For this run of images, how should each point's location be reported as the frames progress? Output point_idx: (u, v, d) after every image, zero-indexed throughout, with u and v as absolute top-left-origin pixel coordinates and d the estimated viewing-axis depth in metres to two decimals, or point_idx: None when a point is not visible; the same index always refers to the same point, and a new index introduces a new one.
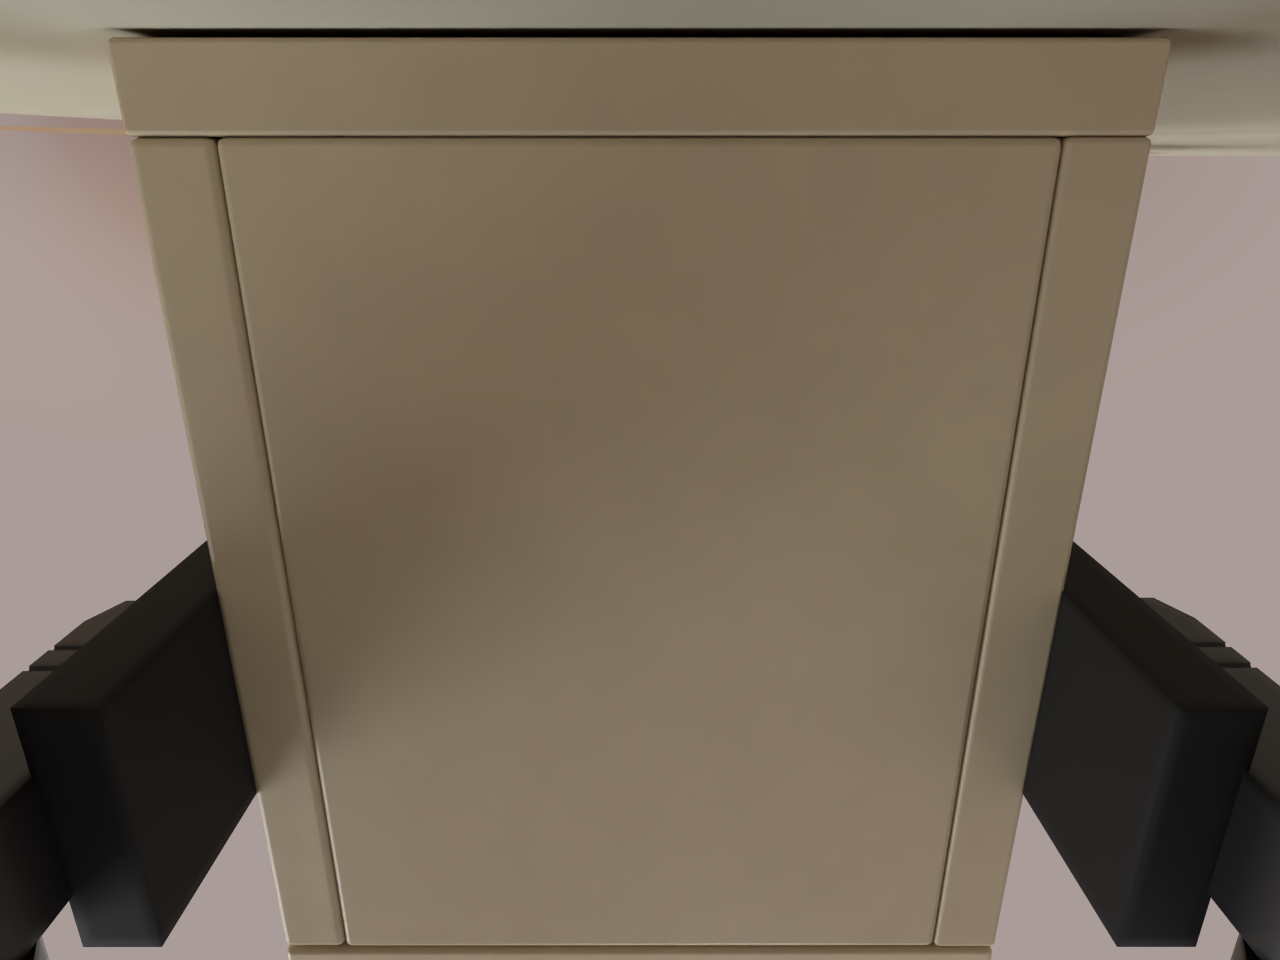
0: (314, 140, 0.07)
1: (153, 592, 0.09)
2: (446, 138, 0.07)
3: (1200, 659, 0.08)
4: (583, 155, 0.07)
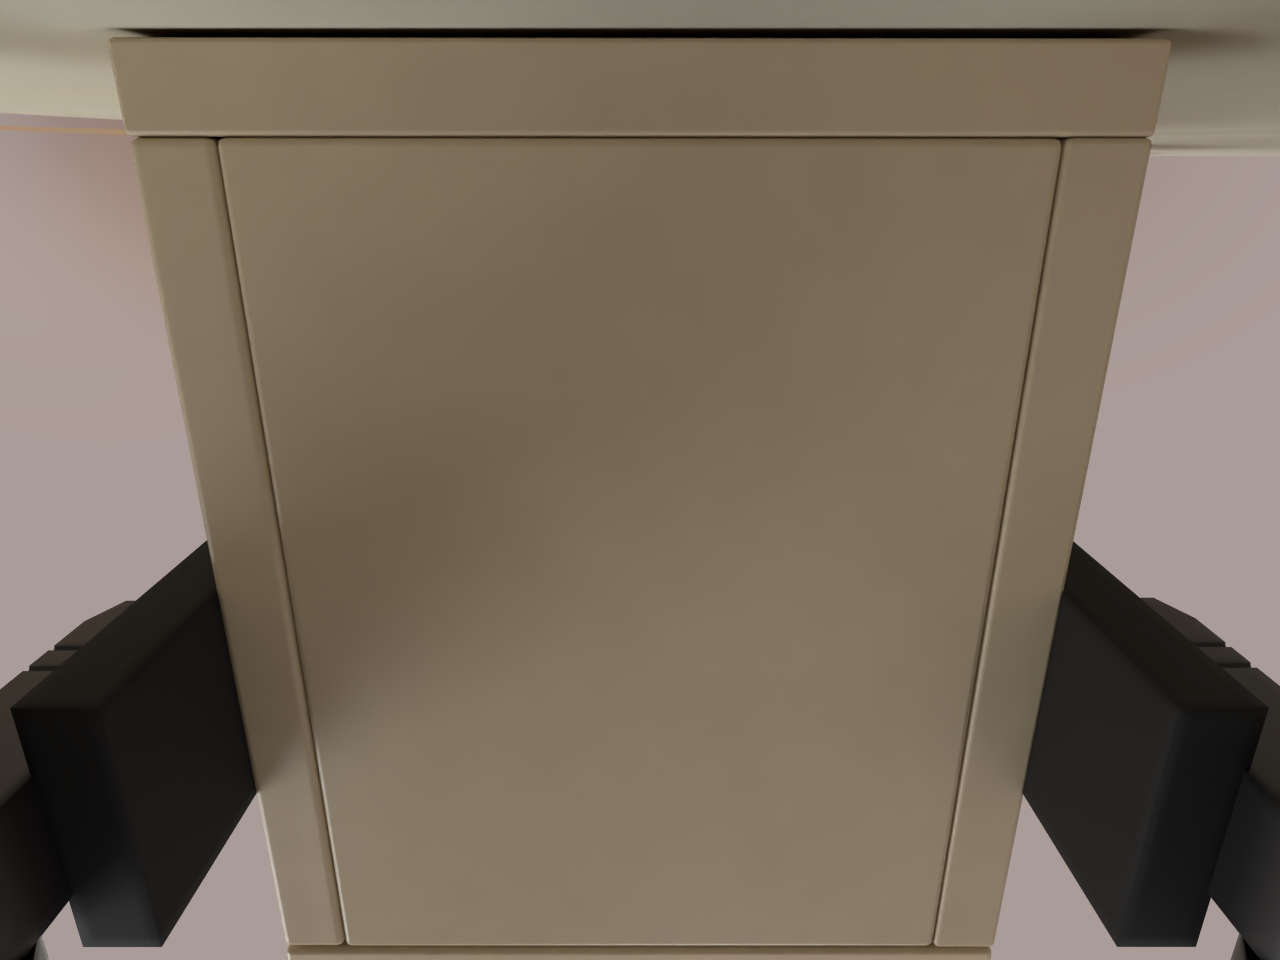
0: (315, 140, 0.07)
1: (153, 592, 0.09)
2: (447, 138, 0.07)
3: (1200, 659, 0.08)
4: (584, 155, 0.07)
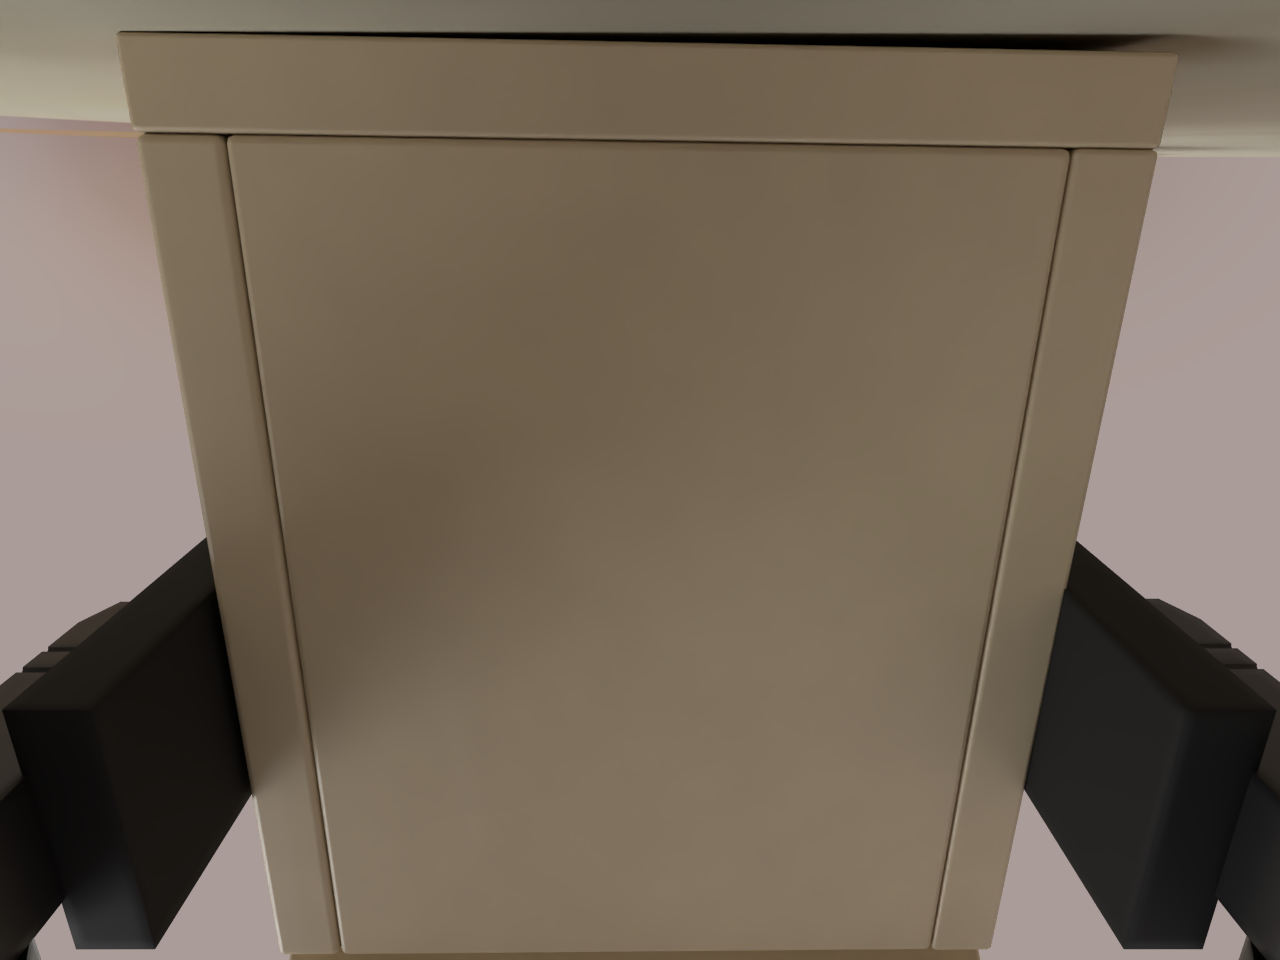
0: (326, 139, 0.07)
1: (146, 593, 0.09)
2: (460, 139, 0.07)
3: (1207, 660, 0.08)
4: (597, 158, 0.07)
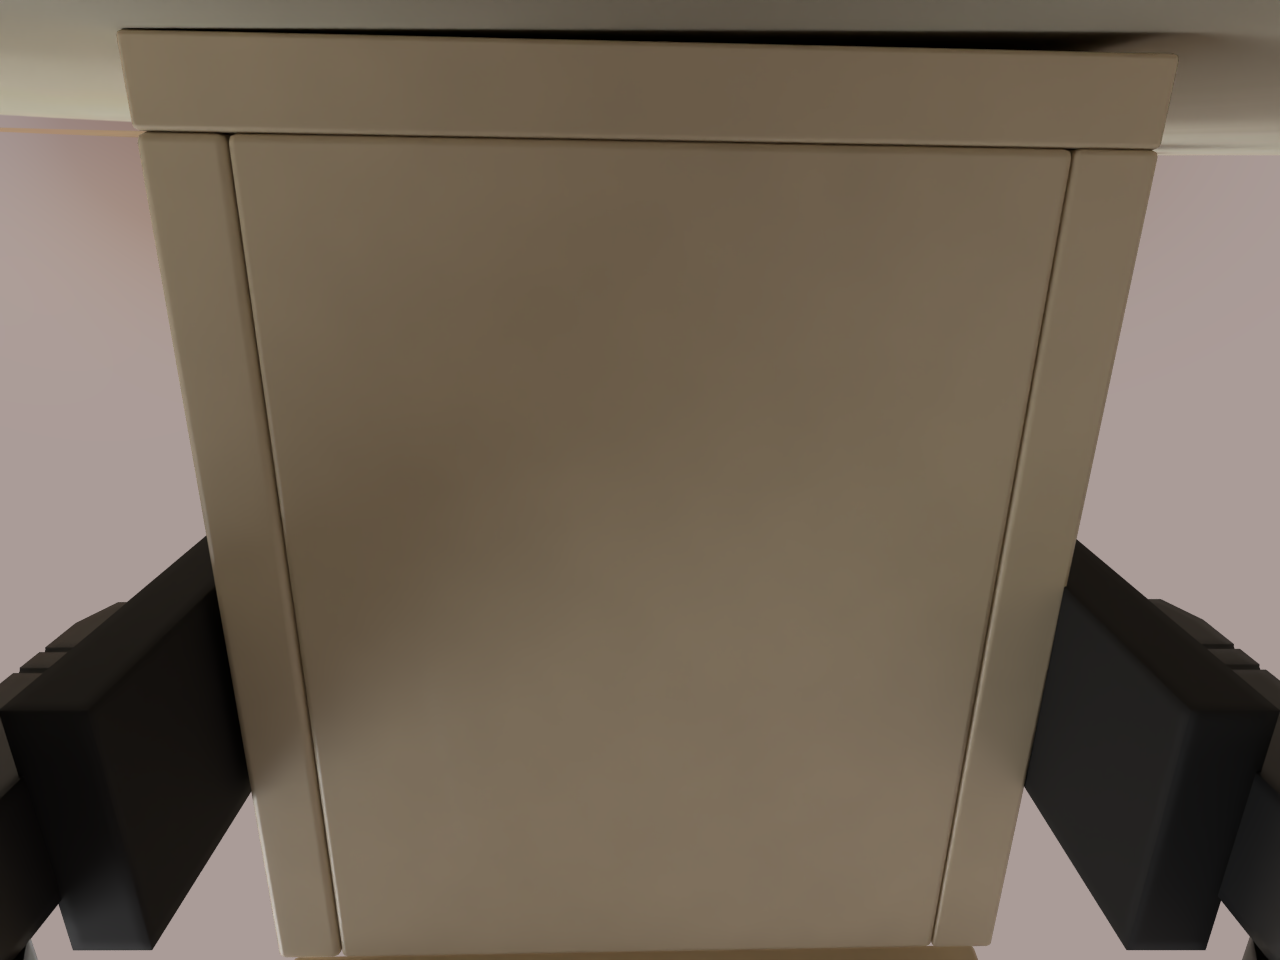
0: (329, 138, 0.07)
1: (144, 594, 0.09)
2: (464, 138, 0.07)
3: (1210, 661, 0.08)
4: (602, 158, 0.07)
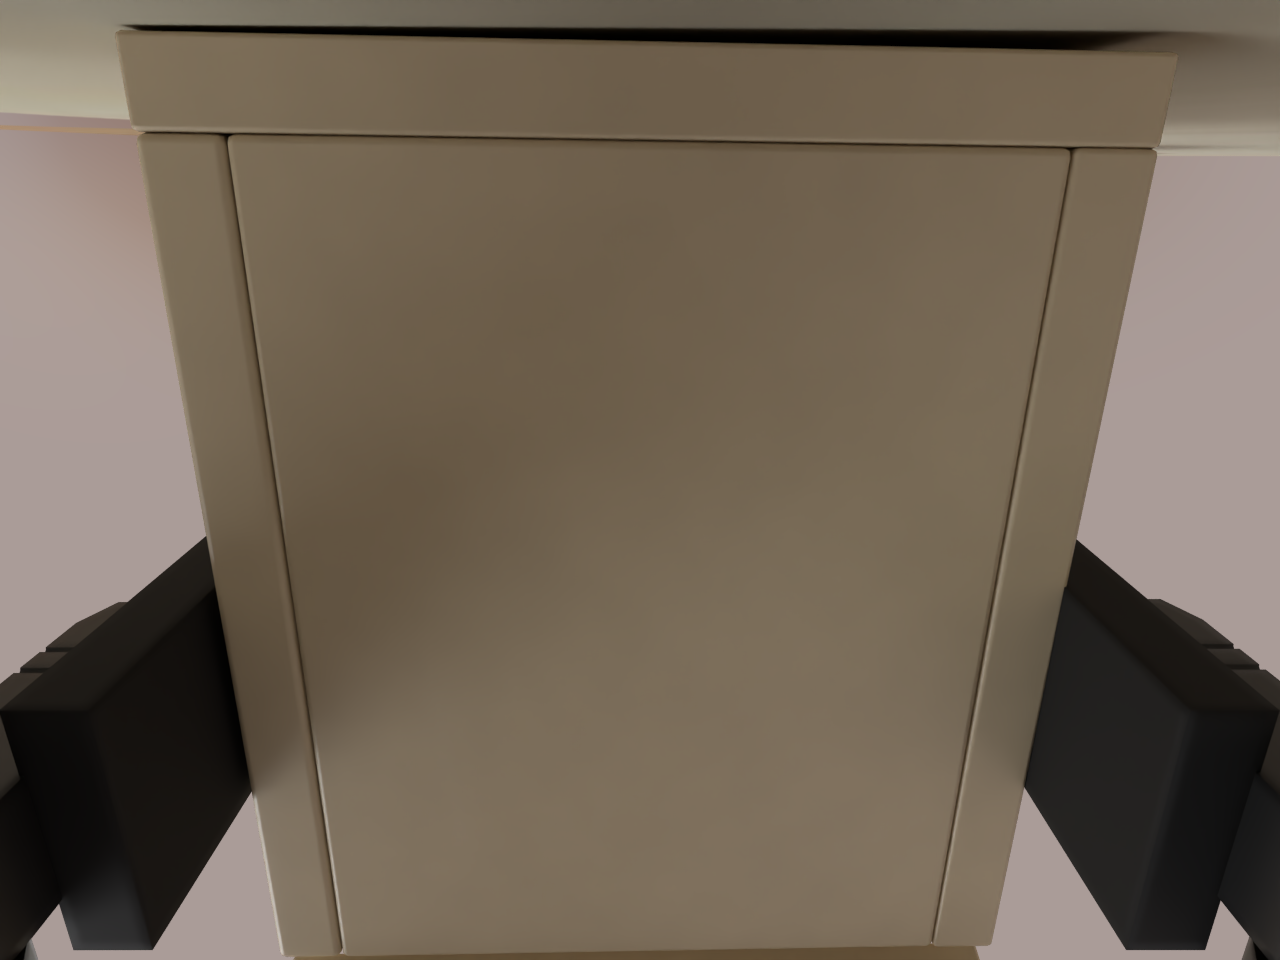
0: (327, 138, 0.07)
1: (144, 594, 0.09)
2: (462, 138, 0.07)
3: (1210, 661, 0.08)
4: (600, 158, 0.07)
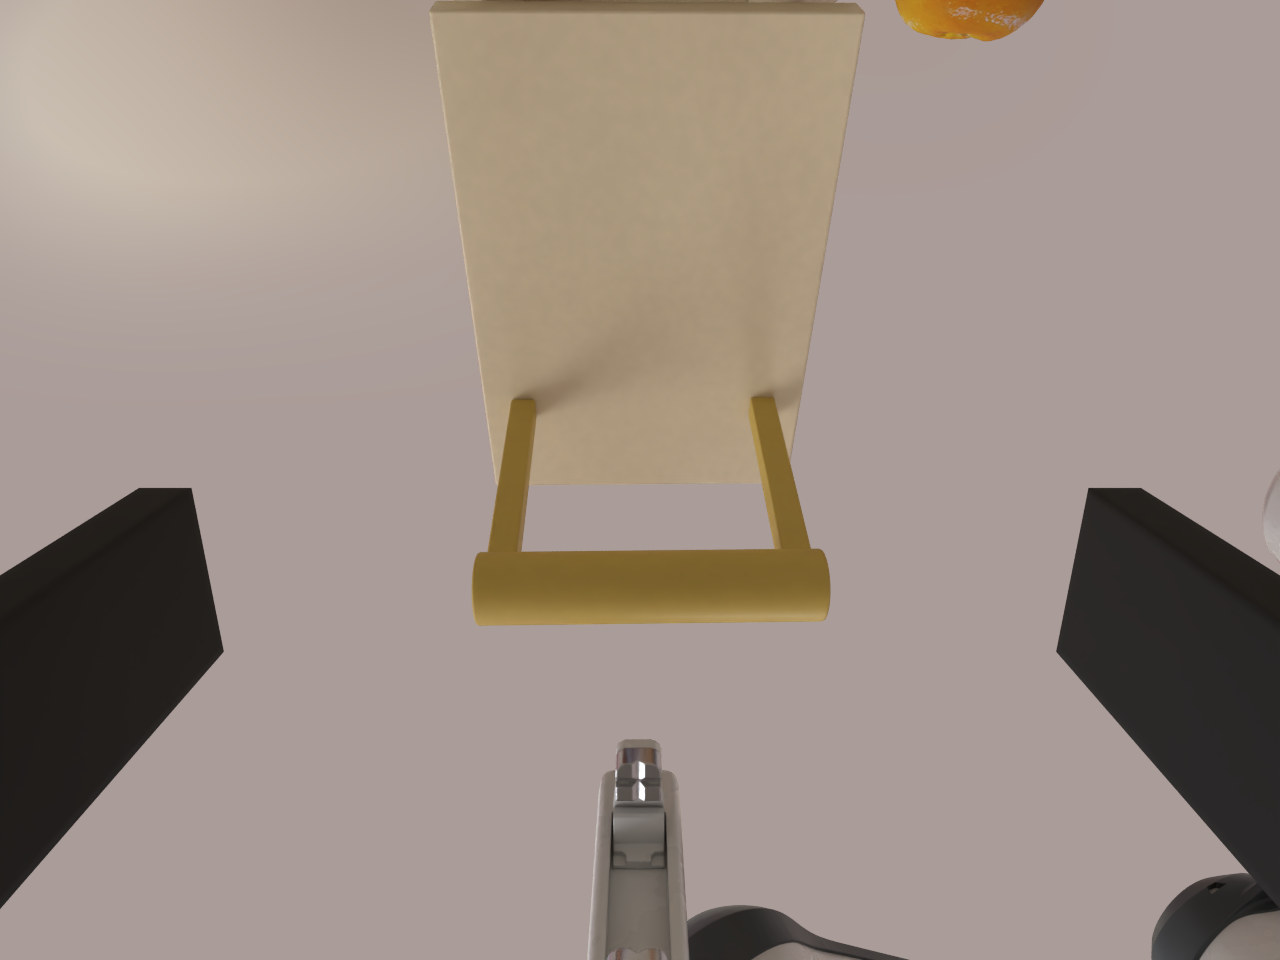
0: None
1: None
2: None
3: None
4: None
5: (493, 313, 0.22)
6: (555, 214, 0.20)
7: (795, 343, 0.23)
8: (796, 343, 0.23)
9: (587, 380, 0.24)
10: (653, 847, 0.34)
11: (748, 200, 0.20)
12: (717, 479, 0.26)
